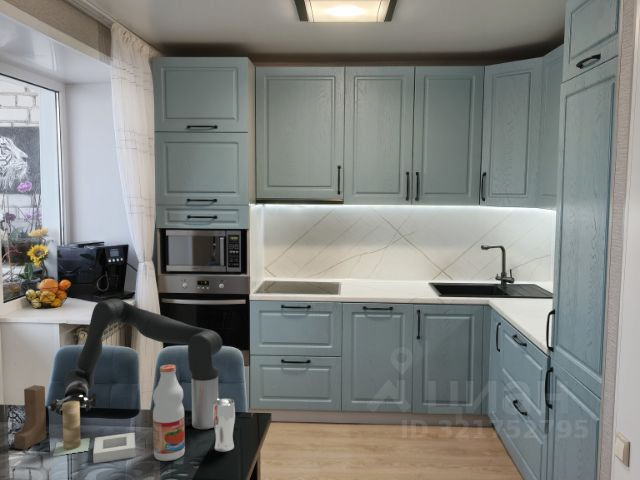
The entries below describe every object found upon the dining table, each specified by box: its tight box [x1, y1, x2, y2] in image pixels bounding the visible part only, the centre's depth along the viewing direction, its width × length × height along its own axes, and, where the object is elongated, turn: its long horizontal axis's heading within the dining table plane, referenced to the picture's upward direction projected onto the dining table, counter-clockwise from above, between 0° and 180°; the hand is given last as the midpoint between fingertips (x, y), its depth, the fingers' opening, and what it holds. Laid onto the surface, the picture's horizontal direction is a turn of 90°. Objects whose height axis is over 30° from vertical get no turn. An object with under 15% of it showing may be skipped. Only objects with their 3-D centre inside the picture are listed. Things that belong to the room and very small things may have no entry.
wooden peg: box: [61, 401, 82, 450], centre depth 173 cm, size 5×5×14 cm
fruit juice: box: [152, 364, 186, 462], centre depth 167 cm, size 9×9×28 cm
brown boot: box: [13, 384, 47, 451], centre depth 176 cm, size 9×4×18 cm, turn 163°
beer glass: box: [213, 397, 236, 453], centre depth 173 cm, size 7×7×15 cm
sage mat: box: [52, 437, 91, 458], centre depth 173 cm, size 10×10×1 cm
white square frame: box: [92, 432, 136, 464], centre depth 170 cm, size 12×12×3 cm
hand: (72, 410), depth 179 cm, fingers open, 8 cm apart
